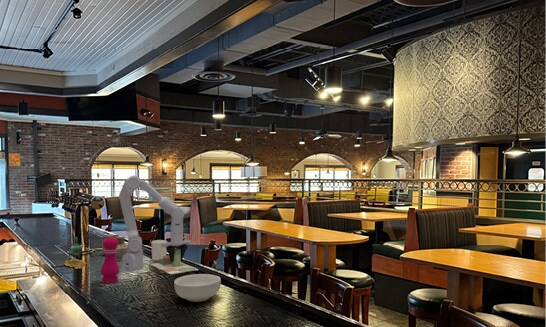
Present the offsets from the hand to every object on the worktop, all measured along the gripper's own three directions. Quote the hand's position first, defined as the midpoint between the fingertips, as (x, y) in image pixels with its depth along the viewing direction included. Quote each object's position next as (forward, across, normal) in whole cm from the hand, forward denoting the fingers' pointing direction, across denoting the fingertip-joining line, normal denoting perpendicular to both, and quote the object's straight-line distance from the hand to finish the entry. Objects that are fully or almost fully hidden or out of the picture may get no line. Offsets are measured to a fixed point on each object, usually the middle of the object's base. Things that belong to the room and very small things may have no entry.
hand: (176, 261), depth 197 cm
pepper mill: (+3, -33, -7) cm, 34 cm away
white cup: (+3, -1, +19) cm, 19 cm away
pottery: (+4, -16, +40) cm, 43 cm away
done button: (+1, -2, +7) cm, 7 cm away
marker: (+2, 0, 0) cm, 2 cm away
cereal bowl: (+3, -14, -48) cm, 50 cm away
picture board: (+3, -2, -2) cm, 4 cm away
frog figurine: (+4, -38, +33) cm, 50 cm away
